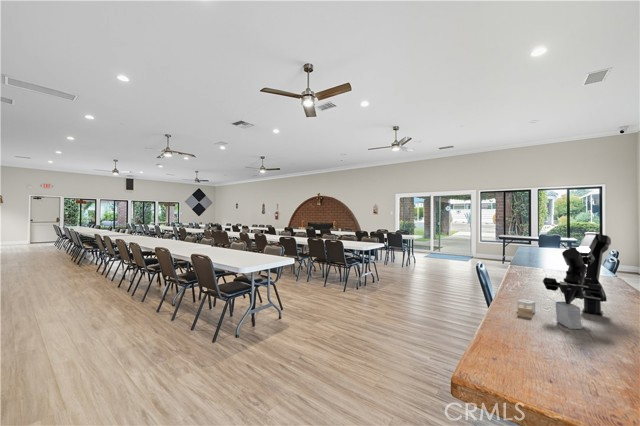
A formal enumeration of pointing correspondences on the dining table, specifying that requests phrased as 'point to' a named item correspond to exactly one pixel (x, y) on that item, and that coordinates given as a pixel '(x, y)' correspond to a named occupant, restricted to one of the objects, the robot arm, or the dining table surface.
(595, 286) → the robot arm
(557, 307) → the medicine box
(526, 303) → the grey block
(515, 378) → the dining table surface
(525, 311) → the oak block
